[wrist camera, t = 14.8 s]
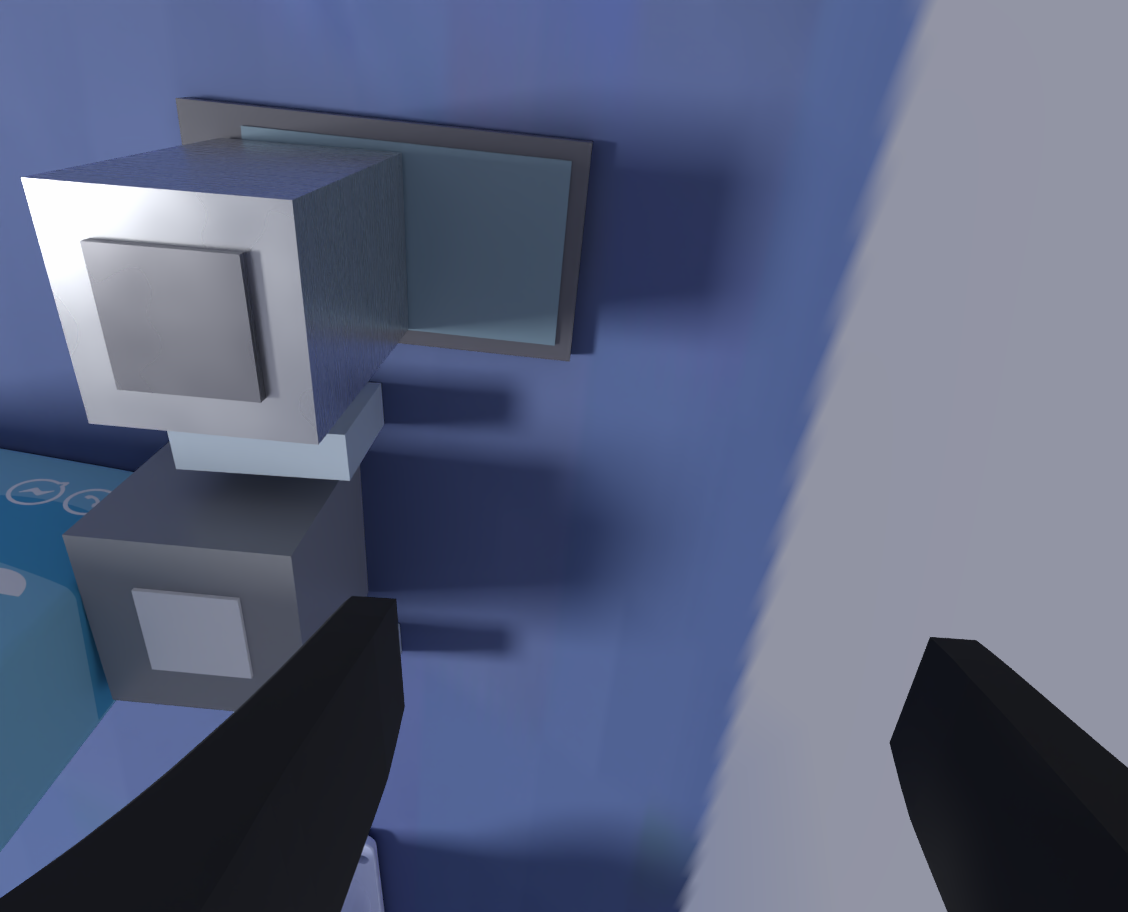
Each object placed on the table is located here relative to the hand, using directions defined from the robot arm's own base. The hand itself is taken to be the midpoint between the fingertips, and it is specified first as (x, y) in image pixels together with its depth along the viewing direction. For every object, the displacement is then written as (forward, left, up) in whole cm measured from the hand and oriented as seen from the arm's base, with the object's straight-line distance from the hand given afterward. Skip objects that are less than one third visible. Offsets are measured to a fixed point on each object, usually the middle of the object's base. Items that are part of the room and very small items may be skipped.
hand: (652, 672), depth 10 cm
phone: (+4, +6, -11) cm, 13 cm away
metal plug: (+3, +8, -9) cm, 12 cm away
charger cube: (-5, +10, -10) cm, 15 cm away
